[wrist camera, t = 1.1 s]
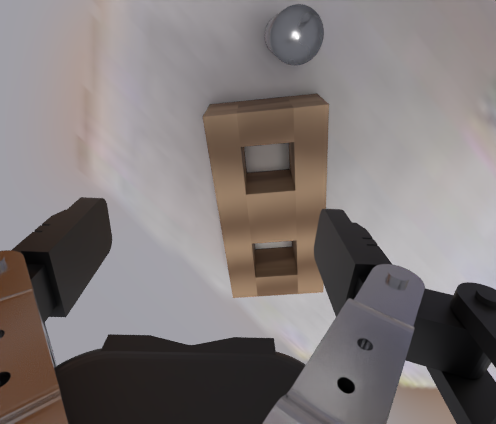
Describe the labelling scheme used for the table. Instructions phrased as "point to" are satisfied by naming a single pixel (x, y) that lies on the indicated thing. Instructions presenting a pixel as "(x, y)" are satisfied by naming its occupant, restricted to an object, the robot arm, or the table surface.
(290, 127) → the hole block
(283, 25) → the peg
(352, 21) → the table surface
